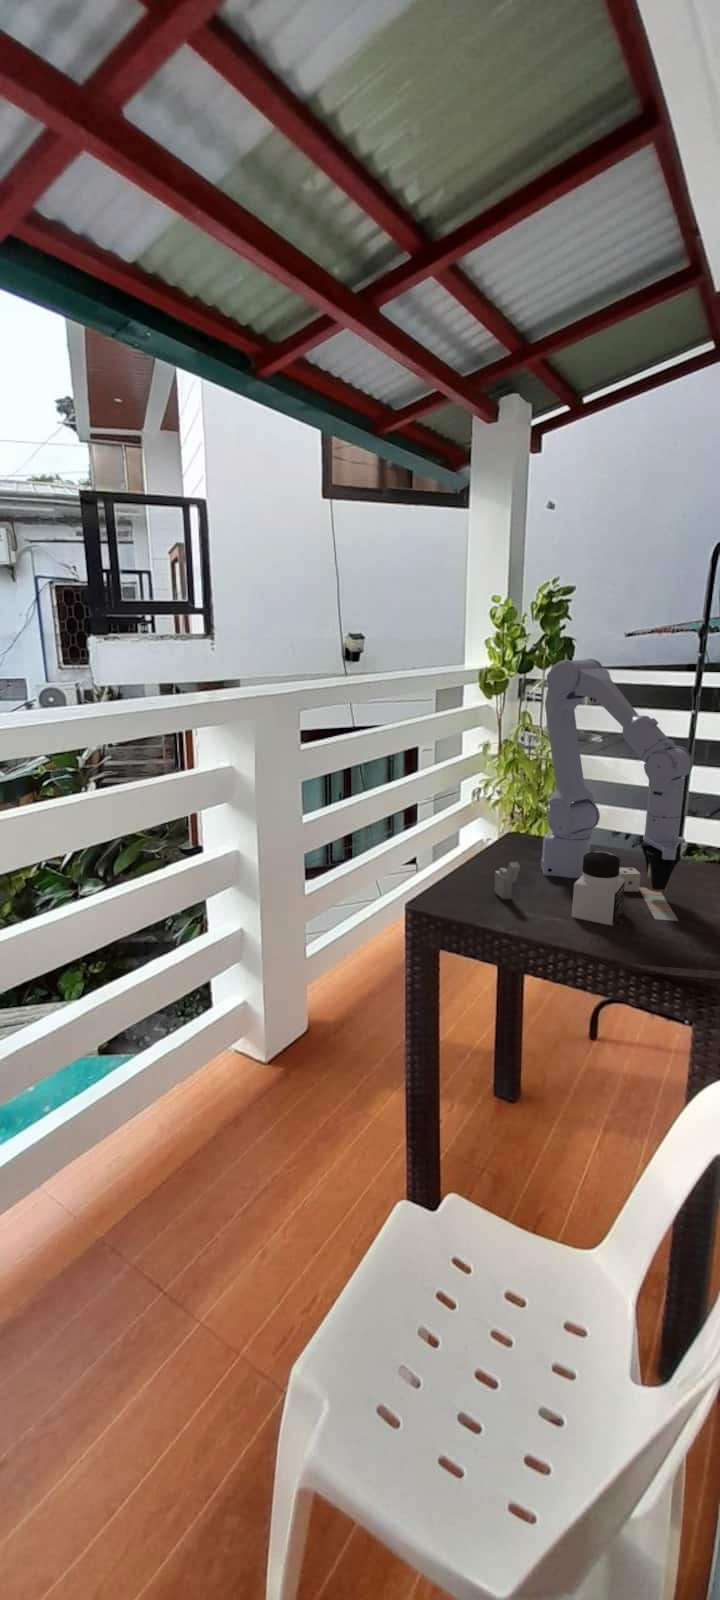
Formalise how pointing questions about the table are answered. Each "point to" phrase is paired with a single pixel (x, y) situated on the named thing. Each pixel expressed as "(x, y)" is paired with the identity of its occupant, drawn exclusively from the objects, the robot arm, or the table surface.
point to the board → (658, 905)
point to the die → (630, 878)
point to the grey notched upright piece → (506, 880)
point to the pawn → (649, 883)
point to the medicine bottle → (599, 889)
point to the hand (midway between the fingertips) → (656, 884)
